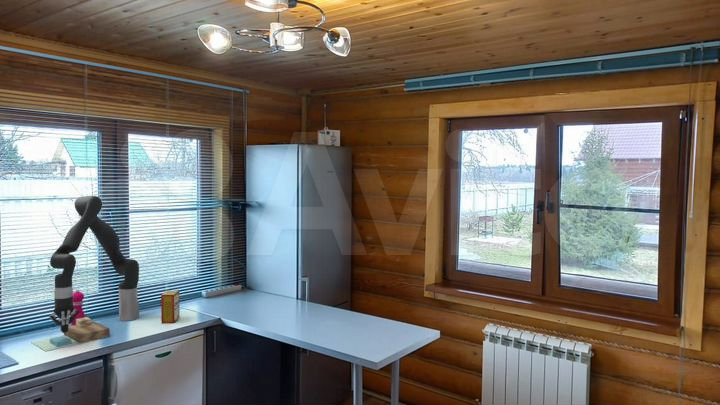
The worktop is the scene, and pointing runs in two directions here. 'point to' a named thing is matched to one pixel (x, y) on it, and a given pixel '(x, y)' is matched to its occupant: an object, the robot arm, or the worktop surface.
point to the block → (83, 321)
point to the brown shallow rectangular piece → (87, 332)
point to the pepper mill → (78, 305)
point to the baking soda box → (170, 307)
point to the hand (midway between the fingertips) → (64, 332)
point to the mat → (48, 346)
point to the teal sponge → (60, 341)
